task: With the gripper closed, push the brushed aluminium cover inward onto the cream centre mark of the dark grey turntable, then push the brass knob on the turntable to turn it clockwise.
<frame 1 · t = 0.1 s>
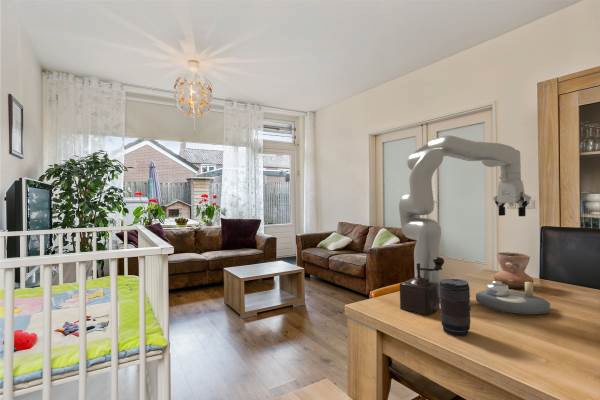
hand: (511, 215, 139), 31 cm above the table, tool pointing down, fingers open, 9 cm apart
ceramic jug: (513, 286, 139), on the table
cover: (497, 294, 117), point 3 cm above the table, touching turntable
camera lens: (455, 332, 92), on the table
manual coffee grinder: (423, 307, 114), on the table
turntable: (510, 293, 112), point 5 cm above the table, hinge at 0.0°, touching cover
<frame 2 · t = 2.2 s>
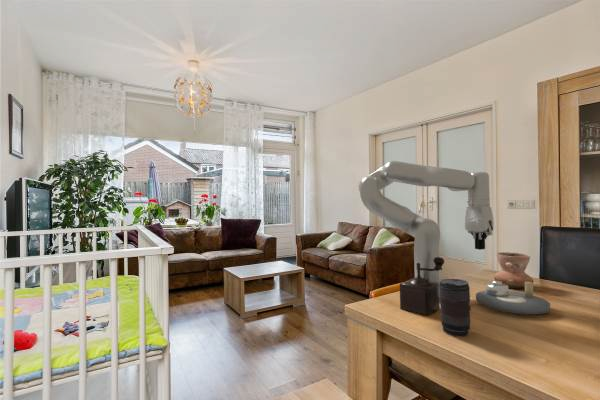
hand: (480, 248, 124), 19 cm above the table, tool pointing down, fingers closed
nothing on the table moved.
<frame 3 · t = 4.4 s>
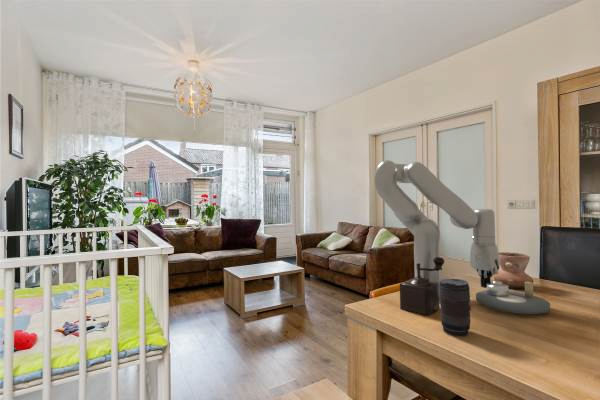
hand: (485, 286, 122), 4 cm above the table, tool pointing down, fingers closed
cover: (497, 294, 117), point 3 cm above the table, touching gripper
turntable: (510, 293, 112), point 5 cm above the table, hinge at 0.0°
everything else where it was.
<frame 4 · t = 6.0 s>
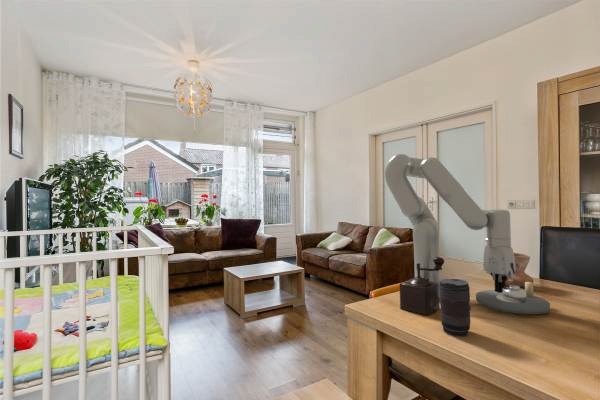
hand: (500, 291, 116), 4 cm above the table, tool pointing down, fingers closed
cover: (514, 299, 111), point 3 cm above the table, touching gripper, turntable
turntable: (510, 293, 112), point 5 cm above the table, hinge at -0.5°, touching cover
everything else where it was.
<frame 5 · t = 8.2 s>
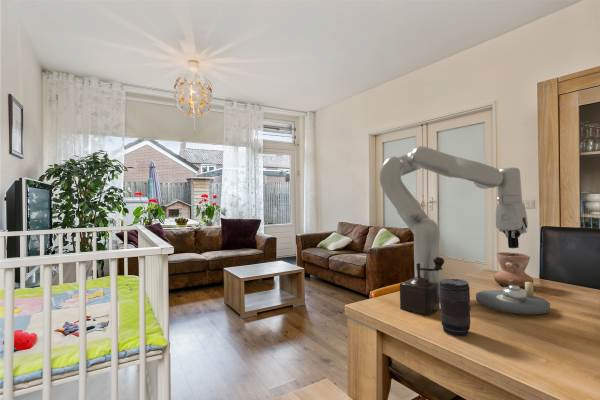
hand: (513, 247, 119), 20 cm above the table, tool pointing down, fingers closed
cover: (514, 299, 111), point 3 cm above the table, touching turntable
everything else where it was.
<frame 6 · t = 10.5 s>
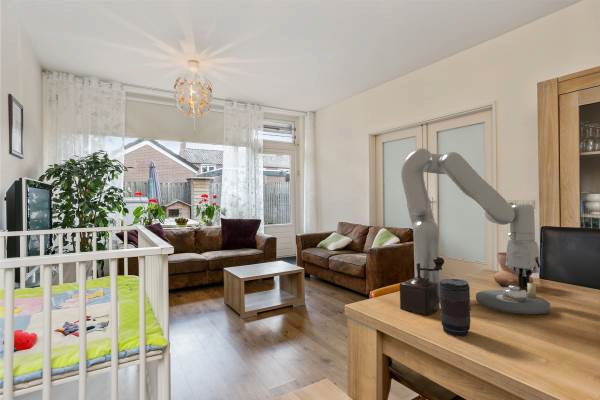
hand: (524, 286, 116), 6 cm above the table, tool pointing down, fingers closed
turntable: (510, 293, 112), point 5 cm above the table, hinge at -7.1°, touching cover, gripper
everything else where it was.
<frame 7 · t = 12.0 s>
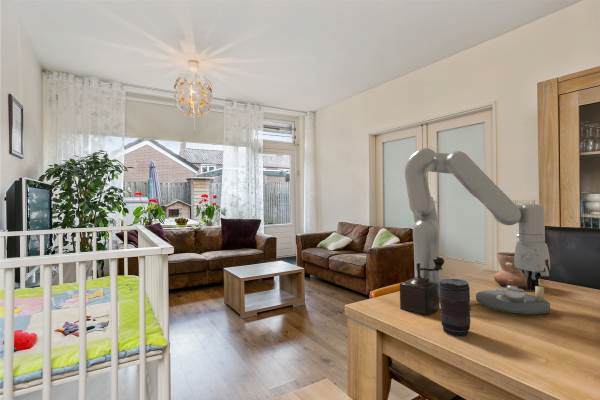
hand: (532, 289, 111), 6 cm above the table, tool pointing down, fingers closed
turntable: (510, 293, 112), point 5 cm above the table, hinge at -38.8°, touching cover, gripper
everything else where it was.
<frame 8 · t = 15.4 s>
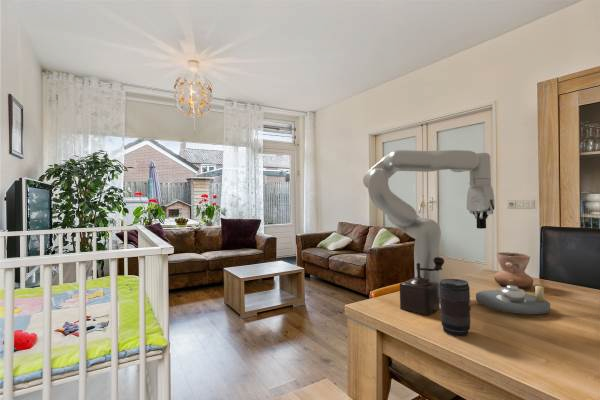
hand: (481, 228, 127), 27 cm above the table, tool pointing down, fingers closed
turntable: (510, 293, 112), point 5 cm above the table, hinge at -38.8°, touching cover
everything else where it was.
at the end: cover 1.2 cm from the turntable (horizontally); cover tilted 0°; turntable at -39° (first picture: +0°) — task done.
